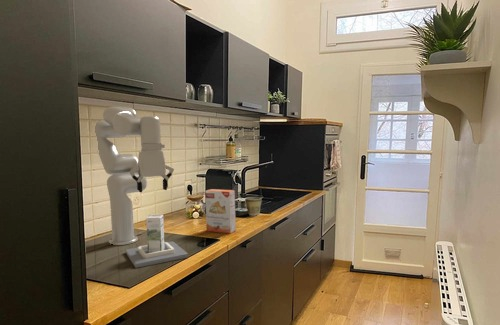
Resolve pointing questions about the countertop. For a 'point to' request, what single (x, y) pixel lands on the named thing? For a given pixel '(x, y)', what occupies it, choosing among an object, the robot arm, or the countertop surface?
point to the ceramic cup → (253, 205)
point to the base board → (155, 255)
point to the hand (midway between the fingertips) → (152, 190)
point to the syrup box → (155, 233)
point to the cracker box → (220, 210)
